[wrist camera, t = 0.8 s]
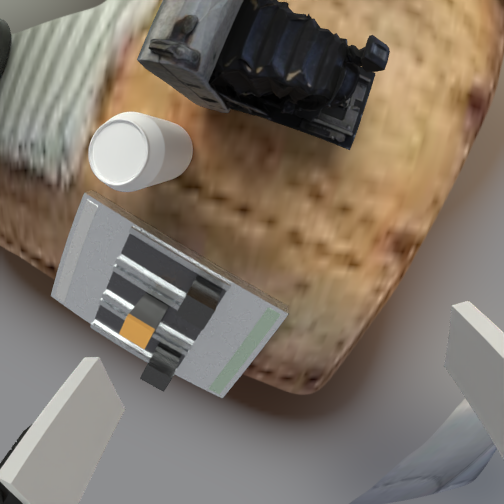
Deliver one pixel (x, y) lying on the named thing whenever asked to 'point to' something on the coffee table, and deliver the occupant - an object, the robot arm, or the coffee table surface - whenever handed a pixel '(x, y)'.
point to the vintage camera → (264, 64)
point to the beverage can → (139, 151)
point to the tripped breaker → (143, 320)
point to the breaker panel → (163, 298)
